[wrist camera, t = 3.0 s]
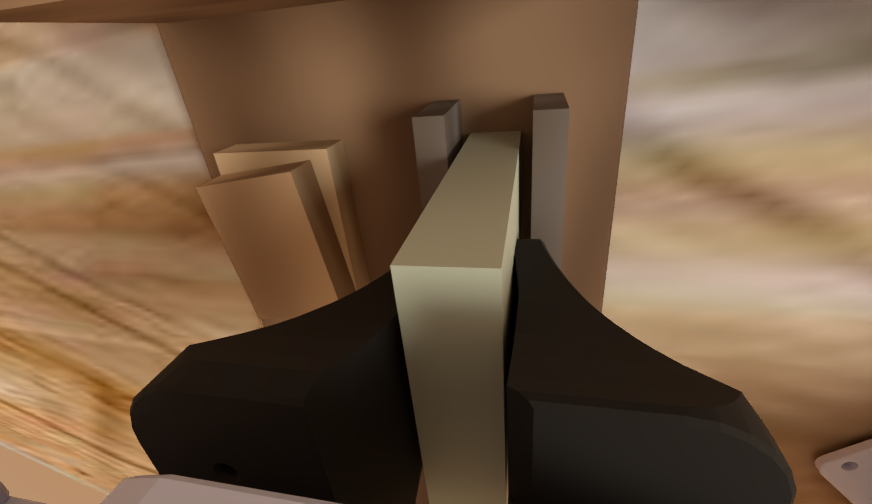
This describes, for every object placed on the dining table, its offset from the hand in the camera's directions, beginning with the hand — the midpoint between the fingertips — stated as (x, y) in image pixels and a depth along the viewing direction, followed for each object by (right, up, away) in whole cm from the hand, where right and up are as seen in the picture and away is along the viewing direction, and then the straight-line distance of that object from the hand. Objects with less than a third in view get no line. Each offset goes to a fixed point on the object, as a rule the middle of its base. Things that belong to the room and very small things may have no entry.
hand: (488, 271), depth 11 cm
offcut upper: (-6, +1, +3) cm, 7 cm away
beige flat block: (+1, +1, +3) cm, 3 cm away
